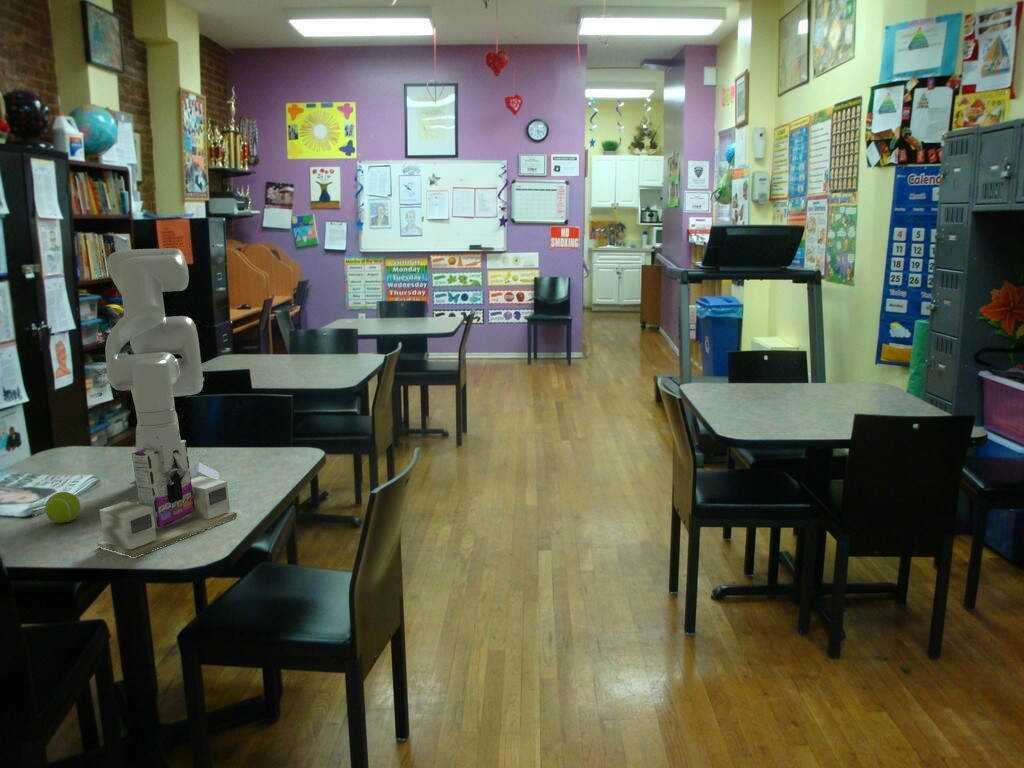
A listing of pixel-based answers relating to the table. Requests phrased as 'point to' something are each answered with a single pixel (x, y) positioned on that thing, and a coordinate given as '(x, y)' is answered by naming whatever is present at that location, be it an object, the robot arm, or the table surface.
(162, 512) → the candy bar box
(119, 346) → the robot arm
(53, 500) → the tennis ball
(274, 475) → the table surface
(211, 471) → the white angular piece
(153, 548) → the rail board
